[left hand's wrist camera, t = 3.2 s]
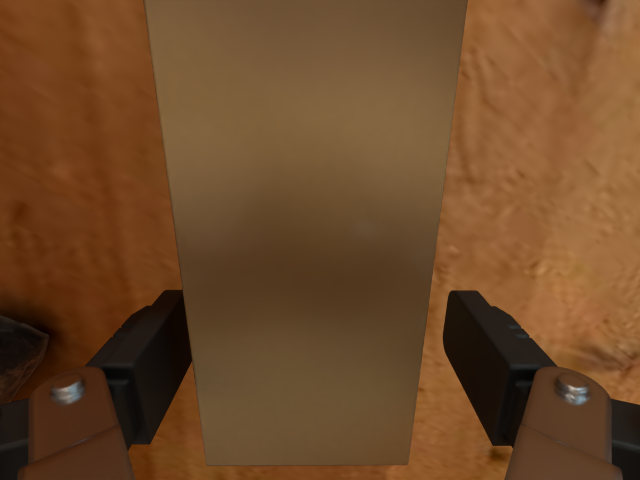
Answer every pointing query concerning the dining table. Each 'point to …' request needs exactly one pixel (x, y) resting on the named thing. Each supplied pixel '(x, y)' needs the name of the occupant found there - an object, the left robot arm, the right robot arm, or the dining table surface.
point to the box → (306, 214)
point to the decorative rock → (18, 355)
